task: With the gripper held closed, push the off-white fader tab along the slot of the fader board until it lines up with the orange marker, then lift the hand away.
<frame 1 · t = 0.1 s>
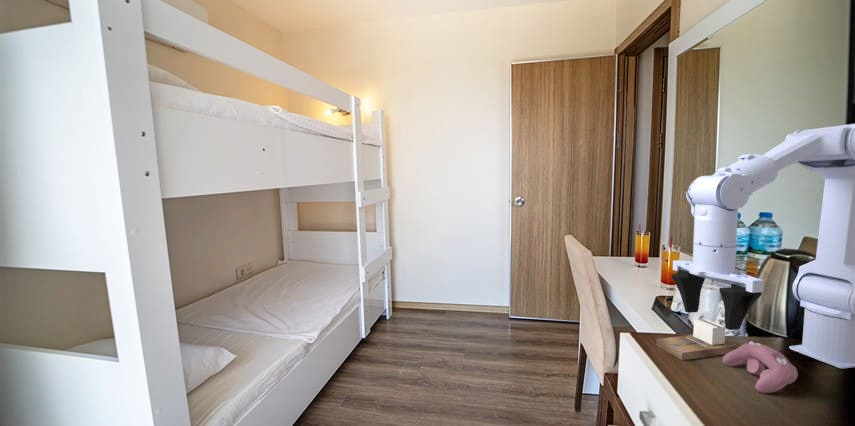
hand: (710, 319, 60), 10 cm above the table, fingers open, 7 cm apart
video game controller: (757, 380, 59), on the table
fader board: (695, 349, 70), on the table
fader tab: (708, 331, 70), point 4 cm above the table, slide at 0.0 cm
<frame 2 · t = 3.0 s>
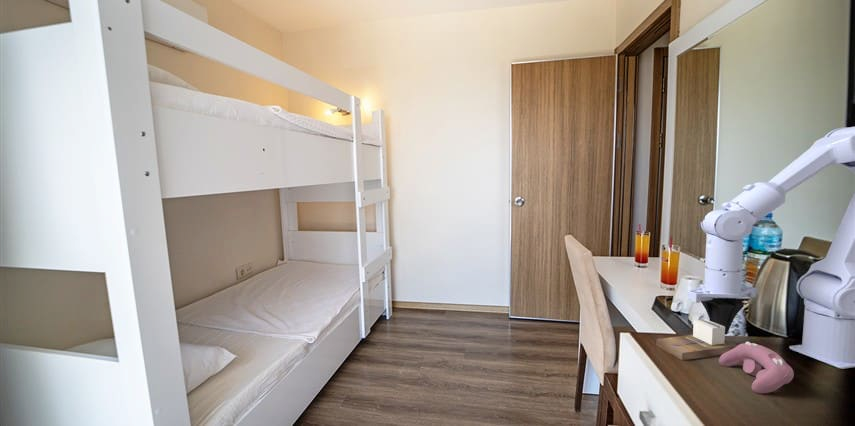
hand: (719, 332, 71), 3 cm above the table, fingers closed
fader tab: (708, 331, 70), point 4 cm above the table, slide at 0.1 cm, touching gripper
everything else where it was.
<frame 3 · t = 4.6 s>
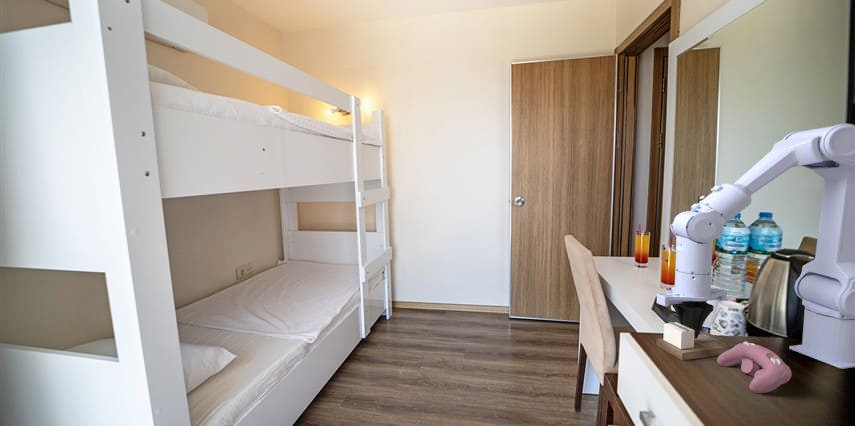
hand: (690, 336, 70), 3 cm above the table, fingers closed
fader tab: (678, 334, 69), point 4 cm above the table, slide at 7.3 cm, touching gripper
everything else where it was.
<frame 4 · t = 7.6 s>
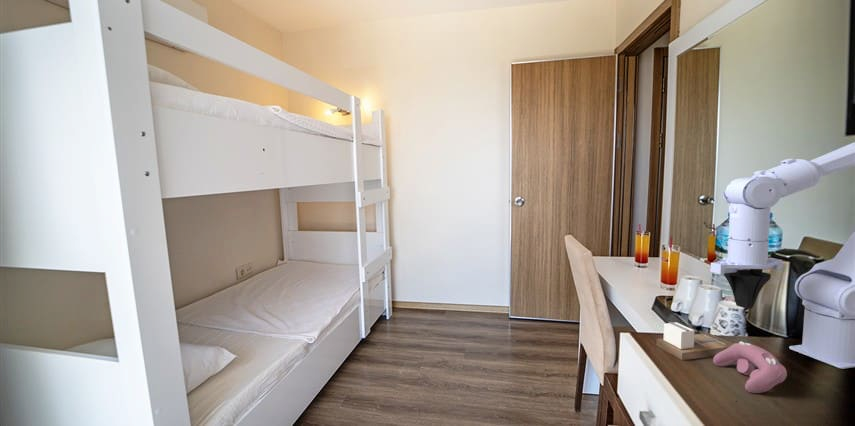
hand: (744, 306, 68), 9 cm above the table, fingers closed
fader tab: (678, 334, 69), point 4 cm above the table, slide at 7.3 cm
at the end: fader tab slide at 7.3 cm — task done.
